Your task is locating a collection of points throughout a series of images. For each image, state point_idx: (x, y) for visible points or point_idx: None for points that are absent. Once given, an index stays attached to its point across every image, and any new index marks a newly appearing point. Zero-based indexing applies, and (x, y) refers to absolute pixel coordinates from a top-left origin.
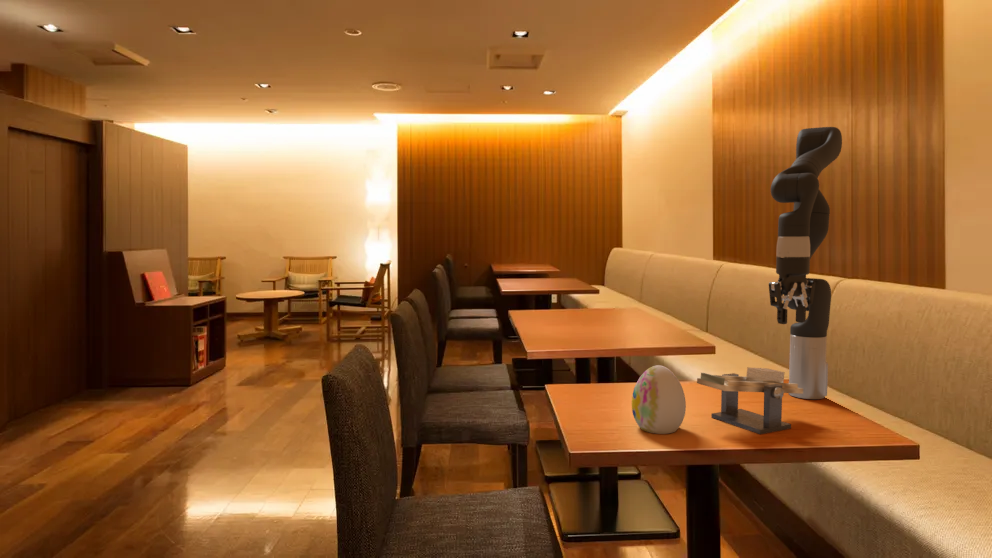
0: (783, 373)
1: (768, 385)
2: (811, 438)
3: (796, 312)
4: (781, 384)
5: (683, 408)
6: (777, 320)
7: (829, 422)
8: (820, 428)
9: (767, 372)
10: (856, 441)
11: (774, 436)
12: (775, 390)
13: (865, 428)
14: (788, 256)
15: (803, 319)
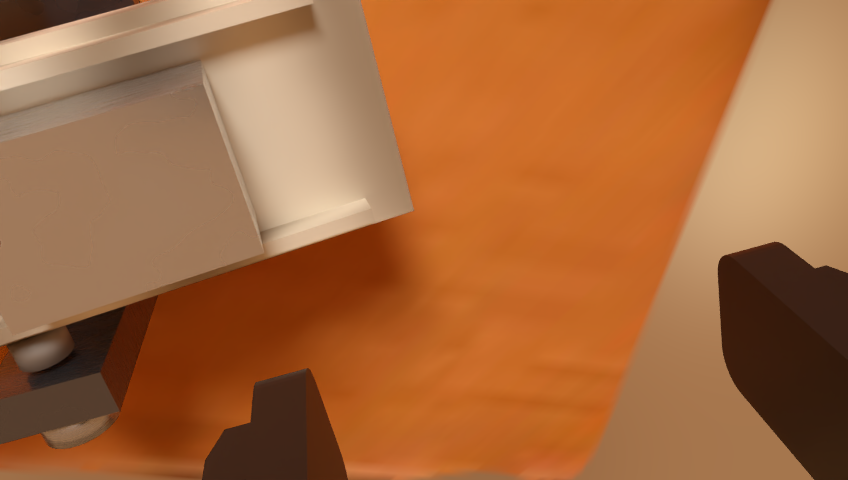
0: (250, 254)
1: (11, 404)
2: (240, 386)
3: (824, 349)
4: (202, 274)
5: None
6: (218, 443)
7: (505, 191)
8: (385, 269)
9: (58, 315)
10: (405, 436)
11: None
12: (44, 438)
13: (590, 299)
14: None
15: (759, 404)
